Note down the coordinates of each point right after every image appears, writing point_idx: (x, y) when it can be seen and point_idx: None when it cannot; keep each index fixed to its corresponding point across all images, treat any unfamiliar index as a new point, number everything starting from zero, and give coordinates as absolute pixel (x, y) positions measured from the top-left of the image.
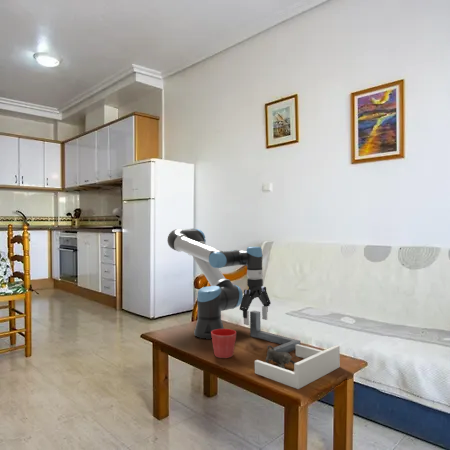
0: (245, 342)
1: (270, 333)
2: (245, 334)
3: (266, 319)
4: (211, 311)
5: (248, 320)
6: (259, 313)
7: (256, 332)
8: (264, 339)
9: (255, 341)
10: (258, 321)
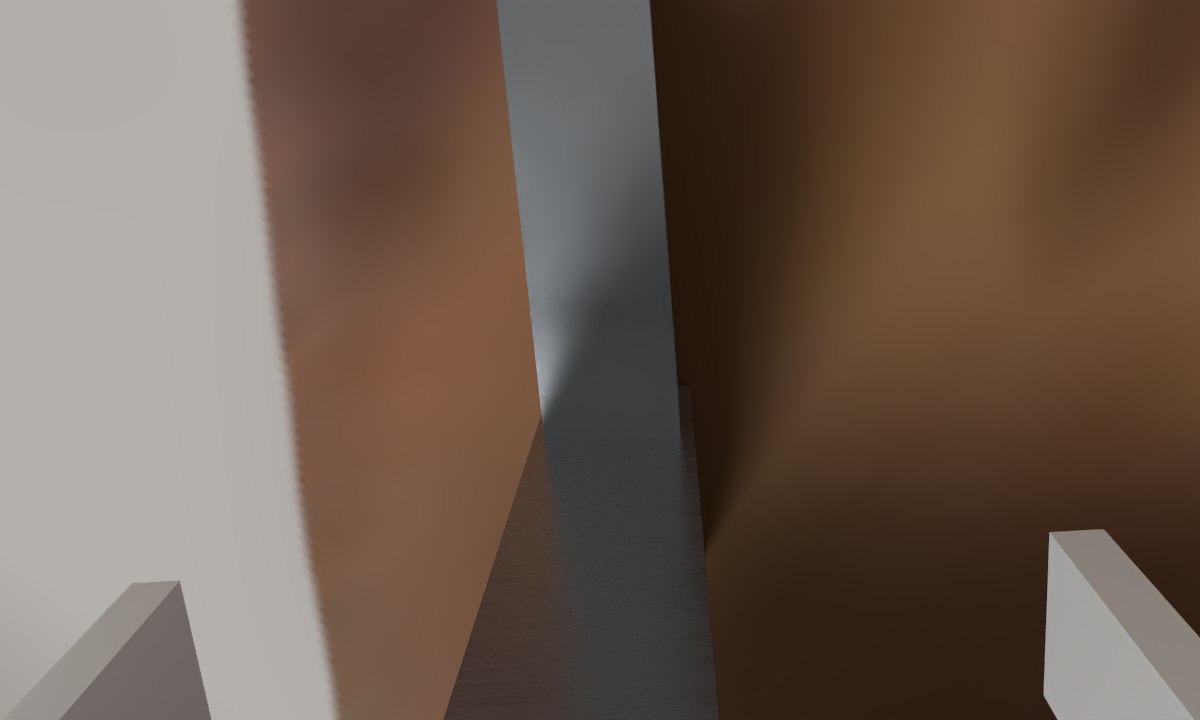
0: (1129, 308)
1: (534, 58)
2: None
3: (173, 588)
4: None
5: (1142, 606)
6: (504, 713)
7: (691, 428)
8: (661, 156)
9: (907, 210)
10: (593, 556)
